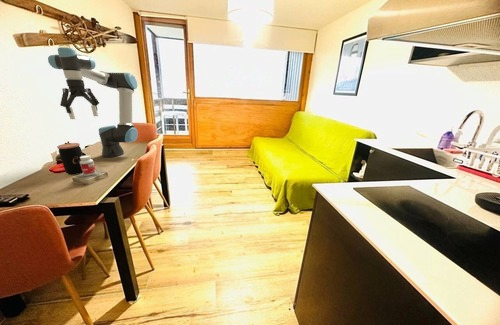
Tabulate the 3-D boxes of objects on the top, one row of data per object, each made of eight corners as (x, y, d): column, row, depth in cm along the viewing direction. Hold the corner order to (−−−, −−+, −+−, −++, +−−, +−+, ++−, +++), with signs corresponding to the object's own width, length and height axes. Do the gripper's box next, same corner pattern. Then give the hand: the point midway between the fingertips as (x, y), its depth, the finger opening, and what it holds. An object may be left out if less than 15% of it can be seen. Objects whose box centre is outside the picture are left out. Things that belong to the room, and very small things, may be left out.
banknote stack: (93, 174, 127) (92, 169, 126) (108, 176, 124) (107, 171, 123) (73, 182, 116) (71, 176, 115) (89, 184, 113) (87, 179, 112)
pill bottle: (81, 175, 117) (75, 157, 113) (92, 171, 123) (87, 154, 119) (88, 177, 115) (82, 158, 111) (99, 173, 120) (94, 155, 117)
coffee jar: (78, 175, 125) (69, 147, 119) (61, 175, 125) (51, 147, 119) (91, 168, 135) (83, 143, 129) (75, 168, 135) (67, 142, 129)
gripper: (91, 80, 124) (99, 114, 132) (43, 78, 102) (56, 120, 109) (100, 80, 123) (108, 115, 130) (53, 78, 100) (66, 120, 107)
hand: (85, 117), depth 120 cm, fingers open, 13 cm apart
